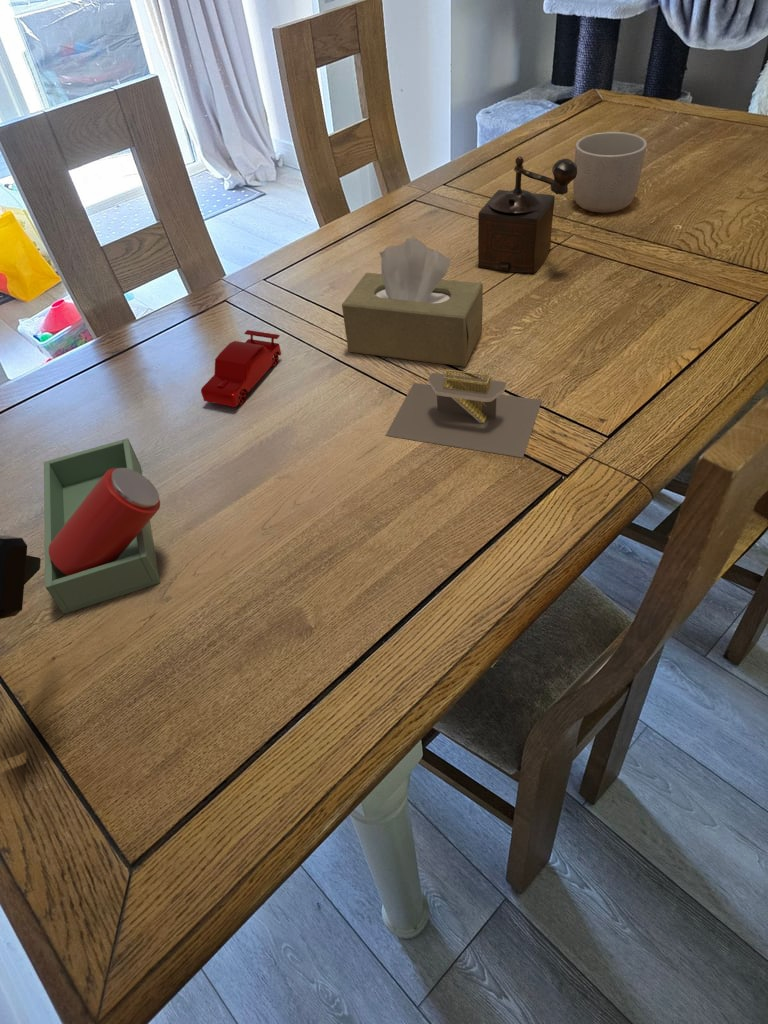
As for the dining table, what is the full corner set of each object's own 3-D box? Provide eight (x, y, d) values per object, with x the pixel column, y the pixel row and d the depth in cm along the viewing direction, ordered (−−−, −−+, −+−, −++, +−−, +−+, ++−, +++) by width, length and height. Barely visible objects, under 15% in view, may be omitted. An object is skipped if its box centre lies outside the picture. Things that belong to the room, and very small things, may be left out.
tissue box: (484, 332, 106) (486, 229, 94) (467, 368, 99) (466, 262, 88) (369, 319, 111) (358, 220, 100) (346, 352, 105) (331, 251, 94)
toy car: (253, 352, 107) (246, 324, 104) (285, 358, 105) (278, 329, 102) (204, 406, 99) (194, 377, 95) (237, 412, 97) (229, 383, 93)
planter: (648, 211, 130) (659, 148, 122) (585, 222, 128) (593, 160, 121) (618, 187, 138) (627, 127, 130) (559, 198, 137) (565, 138, 129)
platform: (523, 457, 85) (526, 414, 80) (385, 435, 90) (380, 394, 86) (541, 400, 93) (545, 358, 88) (413, 382, 98) (411, 342, 93)
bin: (63, 614, 74) (45, 587, 71) (59, 488, 89) (43, 461, 85) (160, 583, 76) (146, 555, 73) (140, 465, 91) (128, 437, 87)
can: (79, 590, 72) (141, 515, 69) (35, 547, 72) (95, 469, 69) (115, 571, 78) (174, 501, 75) (74, 531, 78) (131, 459, 75)
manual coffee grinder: (474, 269, 120) (474, 158, 107) (495, 241, 126) (498, 134, 114) (563, 281, 114) (575, 166, 101) (580, 251, 121) (593, 139, 108)
